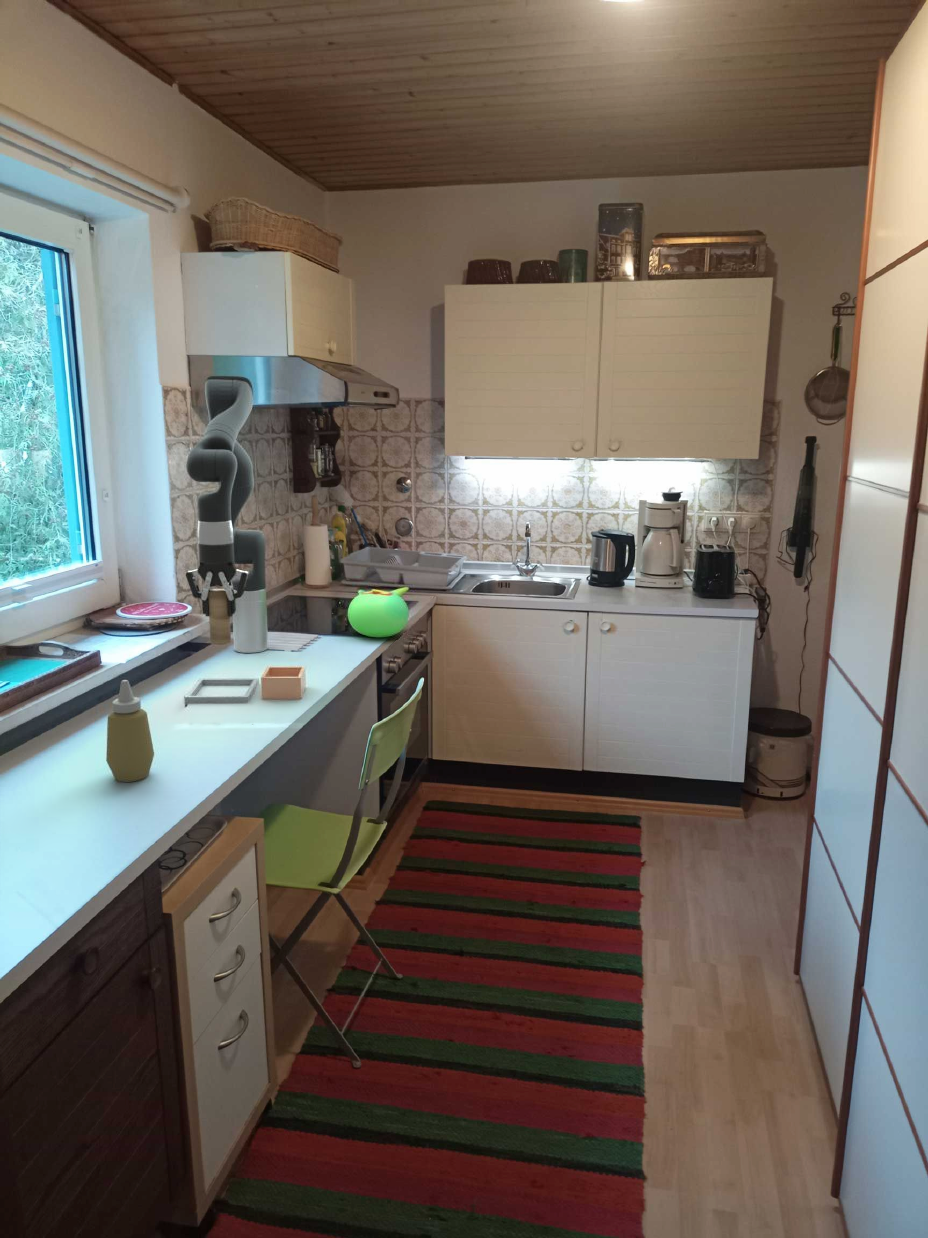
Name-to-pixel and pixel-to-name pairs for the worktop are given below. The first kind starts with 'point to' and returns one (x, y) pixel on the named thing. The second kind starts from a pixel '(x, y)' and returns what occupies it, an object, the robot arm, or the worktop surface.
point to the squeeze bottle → (128, 738)
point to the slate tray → (246, 698)
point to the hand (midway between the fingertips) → (219, 615)
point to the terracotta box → (283, 683)
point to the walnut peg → (219, 617)
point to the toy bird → (378, 612)
